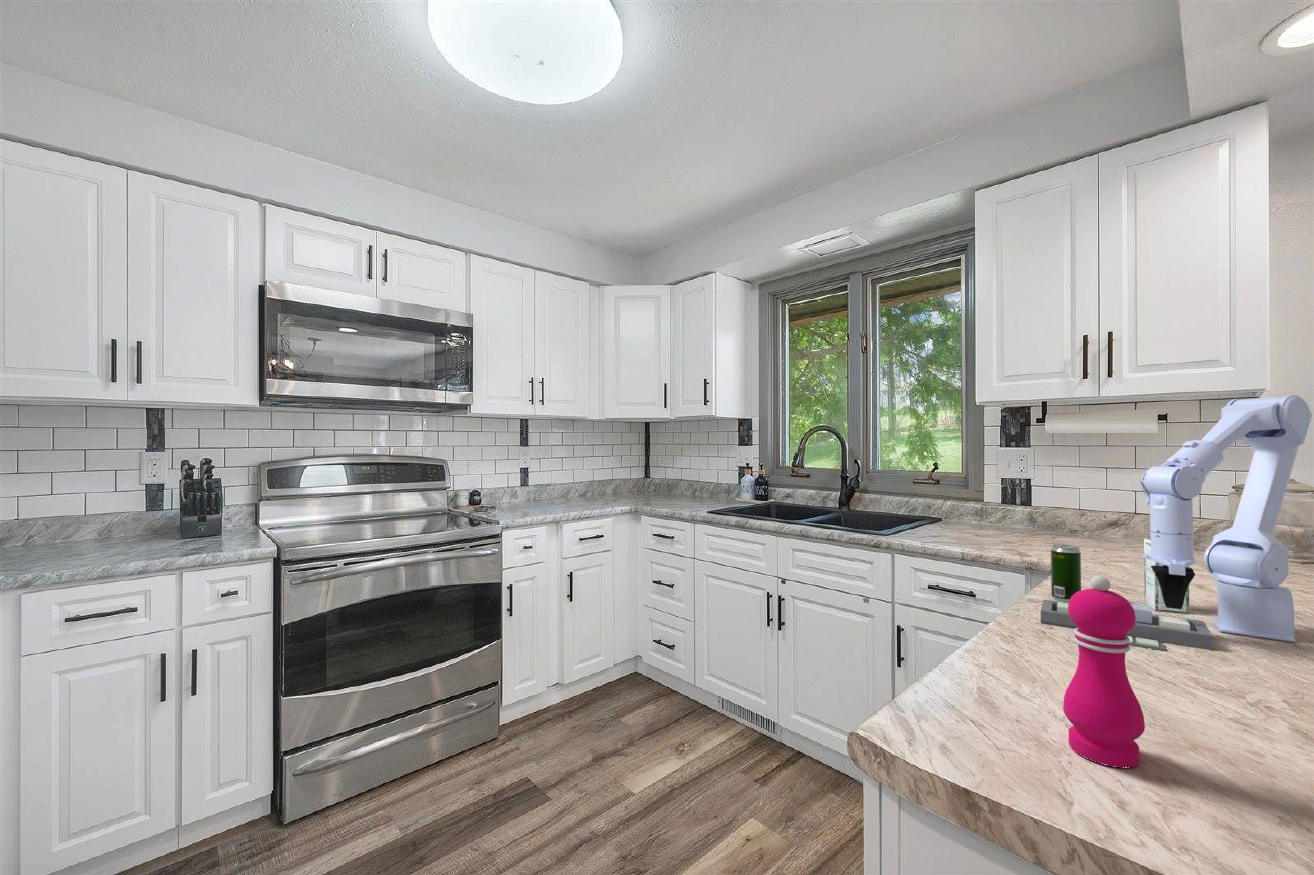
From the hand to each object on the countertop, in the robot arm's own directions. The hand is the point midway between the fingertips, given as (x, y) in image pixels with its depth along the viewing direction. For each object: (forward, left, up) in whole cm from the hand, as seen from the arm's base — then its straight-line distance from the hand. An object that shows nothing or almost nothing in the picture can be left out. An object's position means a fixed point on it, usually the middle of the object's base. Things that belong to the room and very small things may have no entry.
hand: (1173, 607), depth 101 cm
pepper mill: (+11, +56, -6) cm, 57 cm away
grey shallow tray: (+8, 0, -5) cm, 9 cm away
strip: (+8, +9, -5) cm, 13 cm away
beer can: (+16, -18, -5) cm, 25 cm away
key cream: (0, 0, -4) cm, 4 cm away
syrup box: (-1, -22, -6) cm, 23 cm away
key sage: (+15, 0, -4) cm, 16 cm away
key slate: (+5, 0, -3) cm, 6 cm away
